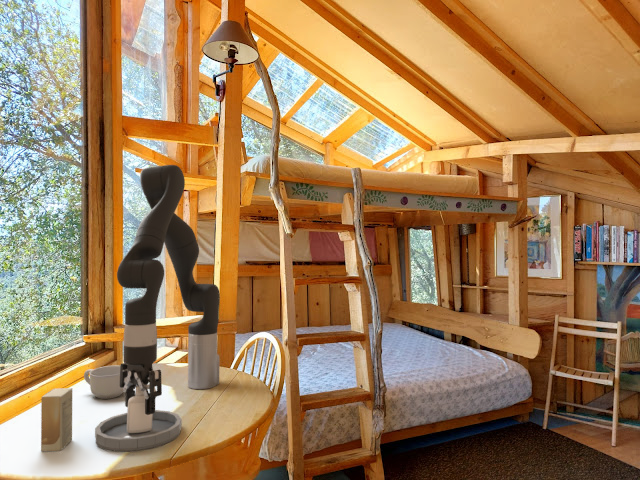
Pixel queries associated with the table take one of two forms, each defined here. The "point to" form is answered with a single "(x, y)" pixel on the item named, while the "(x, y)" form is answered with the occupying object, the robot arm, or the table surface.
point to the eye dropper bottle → (138, 414)
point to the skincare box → (56, 419)
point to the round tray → (117, 438)
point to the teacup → (104, 381)
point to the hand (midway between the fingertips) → (139, 410)
